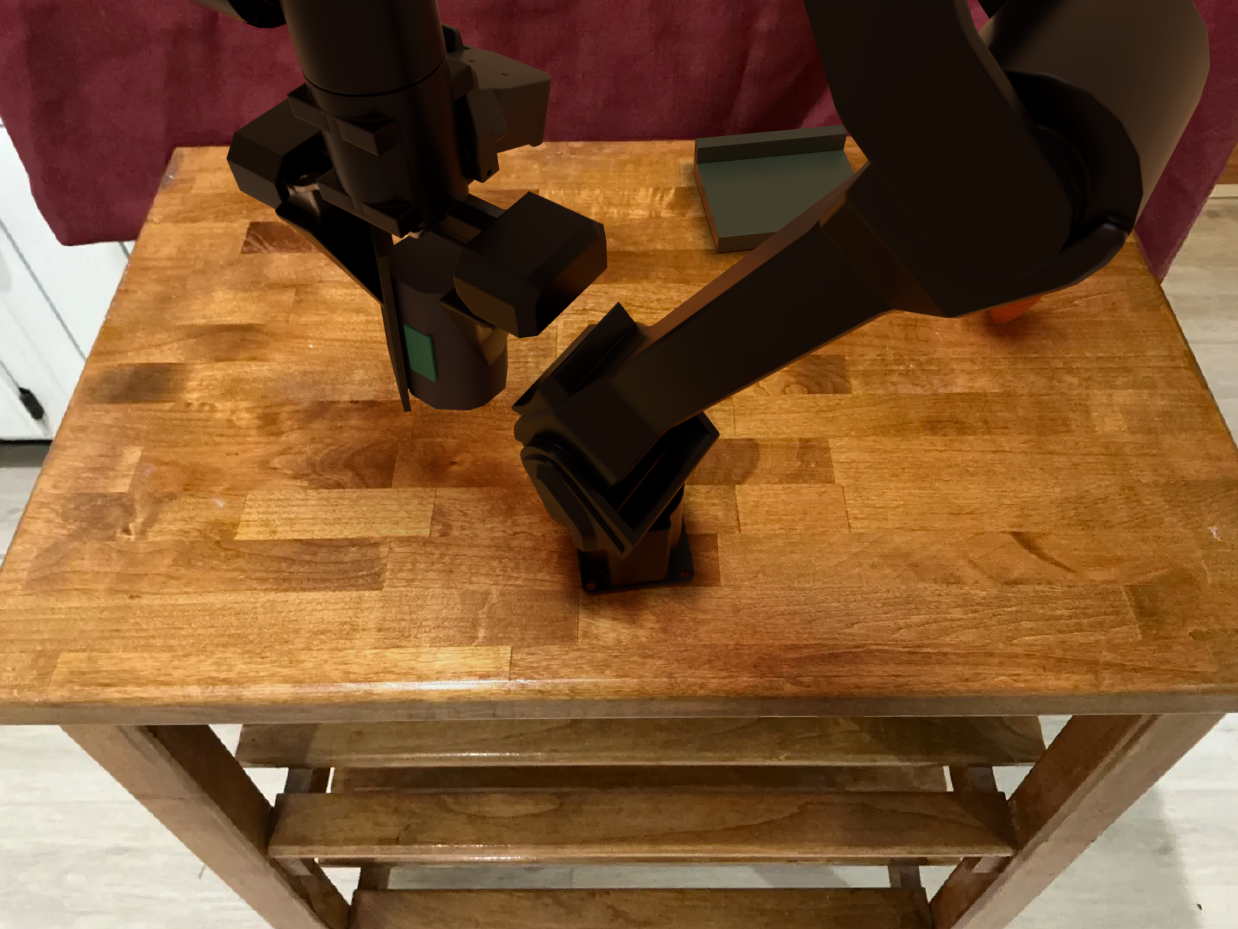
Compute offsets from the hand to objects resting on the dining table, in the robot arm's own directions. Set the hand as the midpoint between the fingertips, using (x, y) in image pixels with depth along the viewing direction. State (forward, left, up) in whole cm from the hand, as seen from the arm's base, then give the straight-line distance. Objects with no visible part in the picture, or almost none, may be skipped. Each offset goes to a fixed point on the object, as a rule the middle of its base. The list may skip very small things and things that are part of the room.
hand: (442, 331), depth 49 cm
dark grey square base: (+21, -25, -11) cm, 34 cm away
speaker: (0, 0, -3) cm, 3 cm away
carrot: (+6, -37, -11) cm, 39 cm away
